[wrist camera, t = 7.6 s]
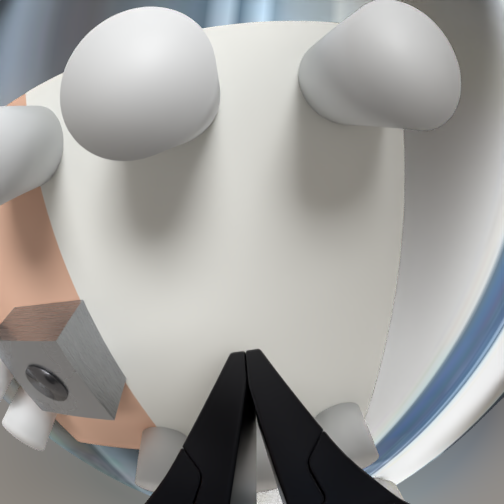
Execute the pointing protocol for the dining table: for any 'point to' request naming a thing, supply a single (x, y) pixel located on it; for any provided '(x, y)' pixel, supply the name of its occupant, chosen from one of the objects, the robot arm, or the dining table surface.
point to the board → (220, 211)
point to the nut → (62, 360)
